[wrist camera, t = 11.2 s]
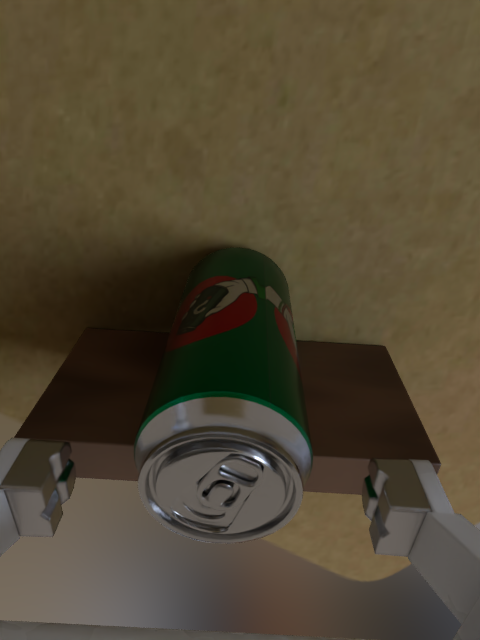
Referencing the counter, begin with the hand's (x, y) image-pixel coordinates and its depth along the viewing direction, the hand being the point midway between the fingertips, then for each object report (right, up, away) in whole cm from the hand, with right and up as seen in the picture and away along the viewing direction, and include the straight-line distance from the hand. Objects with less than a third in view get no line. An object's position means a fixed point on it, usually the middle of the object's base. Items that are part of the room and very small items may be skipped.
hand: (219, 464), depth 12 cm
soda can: (0, +5, +10) cm, 11 cm away
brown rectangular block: (0, +1, +12) cm, 12 cm away
